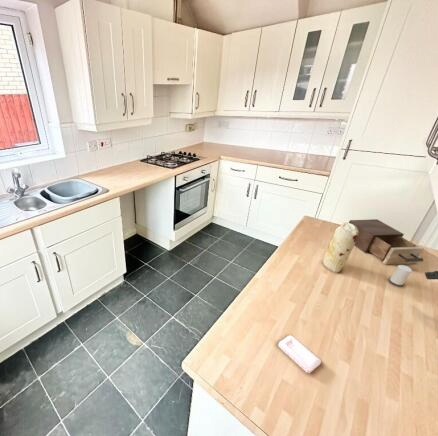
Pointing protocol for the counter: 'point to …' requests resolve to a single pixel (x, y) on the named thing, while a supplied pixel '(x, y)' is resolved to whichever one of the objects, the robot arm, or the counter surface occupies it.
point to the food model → (340, 246)
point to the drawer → (395, 250)
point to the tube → (400, 275)
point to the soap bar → (299, 354)
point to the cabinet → (371, 232)
